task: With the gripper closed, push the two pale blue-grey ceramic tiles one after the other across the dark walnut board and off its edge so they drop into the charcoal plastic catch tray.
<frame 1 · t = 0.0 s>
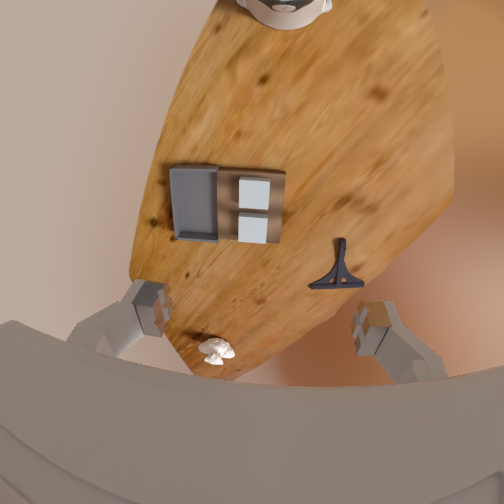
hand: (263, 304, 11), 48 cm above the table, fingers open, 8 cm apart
catch tray: (198, 200, 61), on the table
bracket: (339, 262, 67), on the table
tile b: (253, 225, 60), point 2 cm above the table, touching board
bust: (218, 340, 87), on the table
tile a: (255, 191, 56), point 2 cm above the table, touching board
board: (250, 203, 60), on the table
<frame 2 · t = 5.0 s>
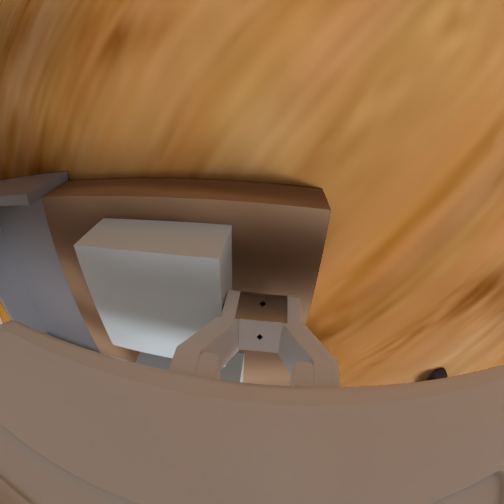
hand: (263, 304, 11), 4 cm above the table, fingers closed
catch tray: (51, 278, 17), on the table
tile b: (198, 373, 17), point 2 cm above the table, touching board
tile a: (169, 278, 12), point 3 cm above the table, touching gripper
board: (186, 303, 17), on the table
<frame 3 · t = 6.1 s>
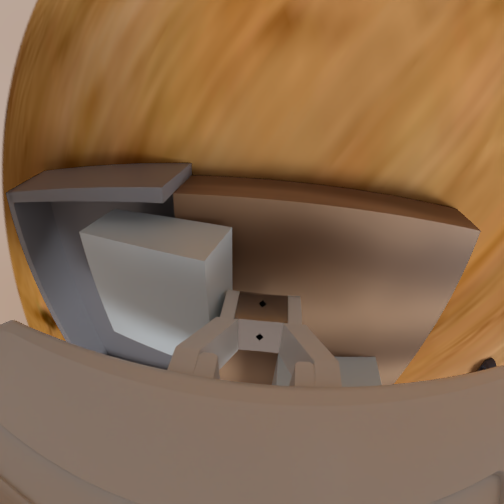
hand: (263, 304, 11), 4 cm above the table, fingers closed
catch tray: (128, 291, 17), on the table
tile b: (317, 382, 16), point 2 cm above the table, touching board
tile a: (173, 274, 13), point 2 cm above the table, tilted 11°
board: (313, 313, 16), on the table
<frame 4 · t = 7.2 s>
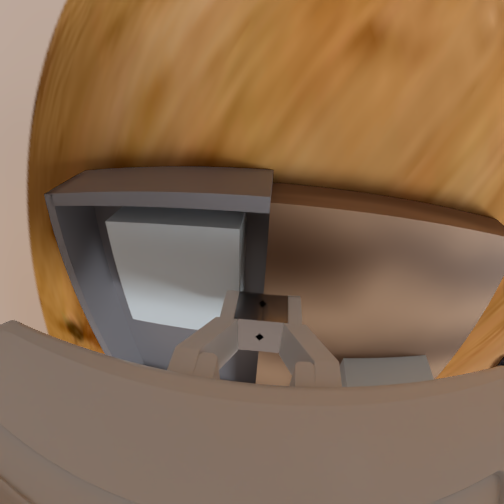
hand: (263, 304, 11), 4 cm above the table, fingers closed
catch tray: (181, 302, 17), on the table
tile b: (371, 382, 16), point 2 cm above the table, touching board
tile a: (188, 255, 14), resting on catch tray
board: (371, 317, 16), on the table
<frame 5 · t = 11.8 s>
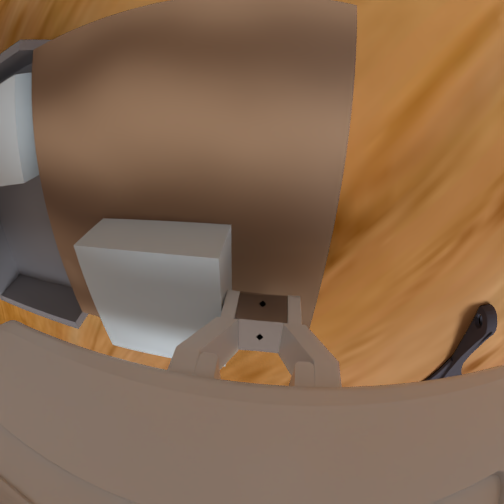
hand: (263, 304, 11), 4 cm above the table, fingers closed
catch tray: (24, 184, 13), on the table
bracket: (450, 355, 19), on the table
tile b: (169, 278, 12), point 3 cm above the table, touching gripper
tile a: (19, 128, 11), resting on catch tray
board: (178, 178, 12), on the table
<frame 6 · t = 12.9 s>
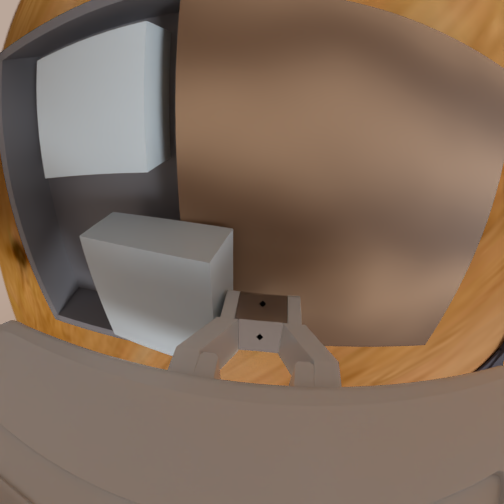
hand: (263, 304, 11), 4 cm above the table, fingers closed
catch tray: (107, 176, 13), on the table
bracket: (496, 347, 19), on the table
tile b: (173, 276, 13), point 2 cm above the table, tilted 9°, touching board
tile a: (112, 101, 10), resting on catch tray
board: (346, 188, 12), on the table
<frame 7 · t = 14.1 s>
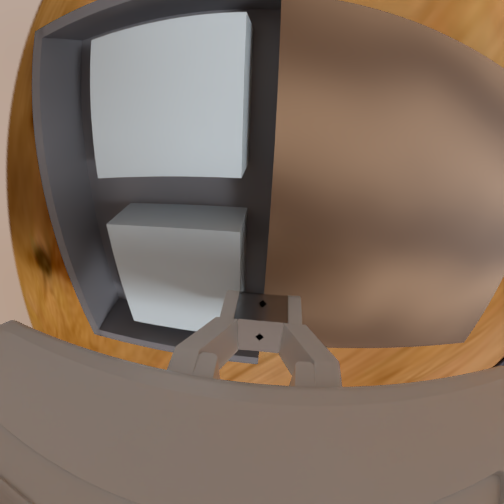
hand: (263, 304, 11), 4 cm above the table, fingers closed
catch tray: (166, 178, 12), on the table
tile b: (189, 257, 14), resting on catch tray
tile a: (180, 95, 10), resting on catch tray
board: (411, 200, 12), on the table
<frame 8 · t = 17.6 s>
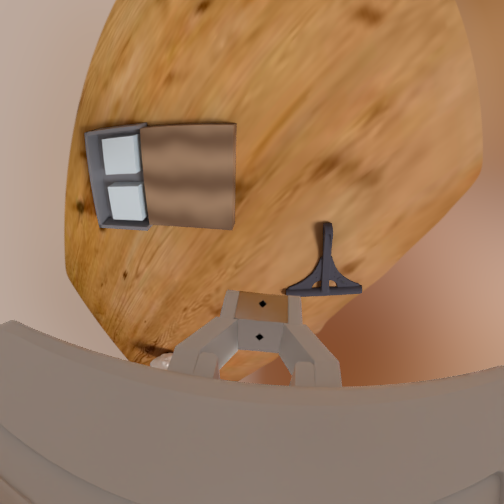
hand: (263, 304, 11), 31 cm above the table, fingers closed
catch tray: (124, 174, 41), on the table
bracket: (326, 258, 47), on the table
tile b: (131, 198, 43), resting on catch tray
bust: (176, 356, 67), on the table
tile a: (125, 152, 39), resting on catch tray
board: (190, 174, 40), on the table
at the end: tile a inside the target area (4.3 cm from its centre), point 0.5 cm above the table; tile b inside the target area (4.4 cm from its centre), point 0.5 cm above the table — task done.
